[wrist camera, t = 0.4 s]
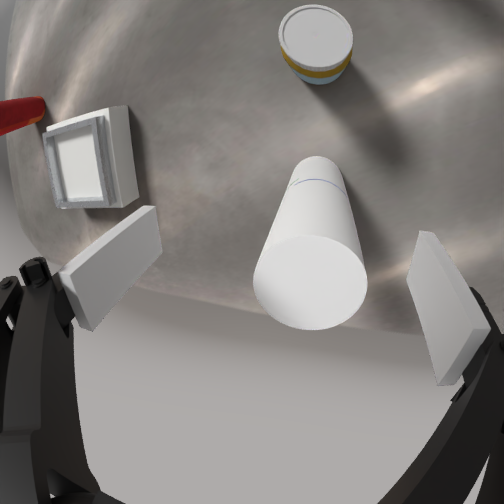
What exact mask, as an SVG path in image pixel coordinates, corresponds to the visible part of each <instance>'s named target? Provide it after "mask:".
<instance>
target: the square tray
mask: <svg viewBox="0 0 504 504" xmlns="http://www.w3.org/2000/svg"><path fill="white" fill-rule="evenodd" d="M42 137H43V144H44V150H45V157H46V162H47V168H48V173H49V178H50V183H51V188H52V192H53V196H54V201H55V205H56V208H61V209H69V208H123V207H125V206H126V205H128V204H129V203H131V202H133V201H134V200H136V199H137V198H139V191H138V185H137V179H136V172H135V165H134V158H133V150H132V142H131V134H130V124H129V114H128V105H124V106H117V107H110V108H105V109H102V110H98V111H94V112H91V113H87V114H84V115H81V116H78V117H74V118H71V119H68V120H65V121H62V122H59V123H56V124H54V125H51V126H48V127H47V132H45V133H42Z"/></svg>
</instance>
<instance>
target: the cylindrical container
mask: <svg viewBox="0 0 504 504" xmlns="http://www.w3.org/2000/svg"><path fill="white" fill-rule="evenodd" d="M253 286H254V291H255V294H256V297H257V299H258V301H259V303H260V304H261V306H262V307H263V309H264V310H265V311H266V312H267V313H268V314H269V315H270V316H272V317H273V318H274V319H276V320H277V321H279V322H281V323H283V324H285V325H288V326H291V327H294V328H298V329H305V330H319V329H326V328H330V327H333V326H336V325H338V324H340V323H342V322H344V321H346V320H347V319H348V318H350V317H351V316H352V315H353V314H354V313H355V312H356V311H357V310H358V309H359V308H360V306H361V304H362V303H363V301H364V298H365V295H366V292H367V275H366V270H365V265H364V260H363V256H362V251H361V247H360V242H359V238H358V234H357V230H356V226H355V222H354V218H353V214H352V210H351V206H350V202H349V199H348V195H347V192H346V188H345V185H344V181H343V178H342V174H341V172H340V170H339V168H338V167H337V165H336V164H334V163H333V162H332V161H331V160H329V159H327V158H324V157H319V156H314V157H309V158H306V159H304V160H302V161H301V162H300V163H299V164H298V165H297V166H296V168H295V169H294V171H293V174H292V176H291V179H290V182H289V184H288V187H287V189H286V192H285V194H284V197H283V199H282V202H281V205H280V207H279V210H278V212H277V215H276V217H275V220H274V222H273V225H272V227H271V230H270V233H269V235H268V238H267V240H266V243H265V245H264V248H263V250H262V253H261V255H260V258H259V260H258V263H257V266H256V269H255V272H254V278H253Z"/></svg>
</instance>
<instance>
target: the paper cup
mask: <svg viewBox="0 0 504 504" xmlns="http://www.w3.org/2000/svg"><path fill="white" fill-rule="evenodd" d="M44 113H45V102H44V99H43V98H42V97H39V96H37V97H27V98H19V99H12V100H6V101H0V136H1V135H4V134H6V133H9V132H11V131H14V130H16V129H19V128H22V127H24V126H27V125H30V124H33V123H35V122H38V121H40V120H41V119H42V118H43V116H44Z"/></svg>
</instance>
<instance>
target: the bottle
mask: <svg viewBox="0 0 504 504" xmlns="http://www.w3.org/2000/svg"><path fill="white" fill-rule="evenodd" d="M278 35H279V40H280V43H281V51H282V54H283V57H284V59H285V60H286V61H287V63H288V64H289V66H290V67H291V68H292V70H293V71H294V72H295V74H296V75H297V76H298V77H300V78H301V79H302V80H304V81H306V82H308V83H311V84H317V85H322V84H328V83H330V82H332V81H334V80H336V79H337V78H338V77H339V76H340V75H341V73H342V72H343V71H344V69H345V68H346V66H347V65H348V63H349V61H350V59H351V56H352V46H353V44H352V43H353V33H352V30H351V27H350V25H349V23H348V22H347V21H346V19H345V18H344V17H343V16H342V15H341V14H339V13H338V12H336V11H335V10H333V9H331V8H329V7H326V6H322V5H304V6H300V7H297V8H295V9H293V10H292V11H290V12H289V13H288V14H287V15H286V16H285V17H284V18H283V20H282V22H281V24H280V27H279V34H278Z"/></svg>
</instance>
